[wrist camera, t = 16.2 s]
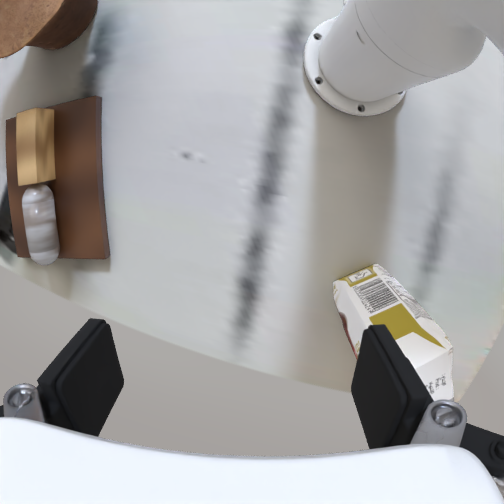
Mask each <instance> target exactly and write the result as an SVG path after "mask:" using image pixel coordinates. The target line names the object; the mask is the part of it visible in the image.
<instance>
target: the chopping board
mask: <svg viewBox="0 0 504 504" xmlns="http://www.w3.org/2000/svg"><path fill="white" fill-rule="evenodd" d="M101 102H102V97H99V96H92V97H88V98H83V99H79V100H74V101H70V102H66V103H62V104H58V105H54V106H50V107H47V108H45V109H54V158H55V177H56V179H54V180H49V181H45V182H40V183H41V184H45V185H46V186H48V187H49V188H50V189H51V191H52V193H53V197H54V205H55V214H56V222H57V230H58V237H59V243H60V252H59V255H58V257H57V258H74V259H106V258H107V257H109V256H110V251H109V243H108V234H107V225H106V215H105V204H104V191H103V175H102V149H101ZM16 119H17V117H14V118H11V119H8V120H6V166H7V182H8V194H9V203H10V212H11V219H12V226H13V233H14V239H15V245H16V250H17V255H18V257H28V258H31V256H30V253H29V248H28V243H27V237H26V230H25V223H24V216H23V208H22V198H23V195H24V193H25V191H26V190H27V188H28V187H30V186H31V185H33V184H29V185H22V186H18V172H17V149H16ZM35 184H36V183H35Z"/></svg>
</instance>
